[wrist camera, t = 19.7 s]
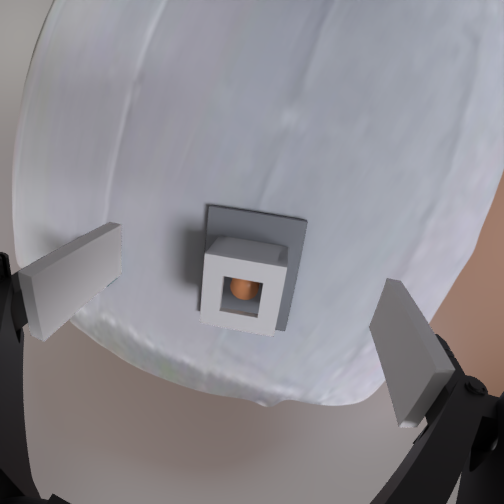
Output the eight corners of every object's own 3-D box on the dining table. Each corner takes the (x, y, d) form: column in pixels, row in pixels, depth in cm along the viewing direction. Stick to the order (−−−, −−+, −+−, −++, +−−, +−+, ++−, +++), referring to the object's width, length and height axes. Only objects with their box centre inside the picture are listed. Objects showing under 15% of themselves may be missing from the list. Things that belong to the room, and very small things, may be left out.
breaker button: (237, 260, 46) (231, 271, 41) (263, 264, 45) (260, 276, 41) (234, 283, 47) (228, 297, 43) (259, 288, 47) (256, 302, 42)
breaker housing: (210, 205, 45) (191, 218, 36) (307, 220, 44) (310, 238, 35) (201, 312, 51) (185, 342, 43) (285, 328, 50) (282, 362, 41)
